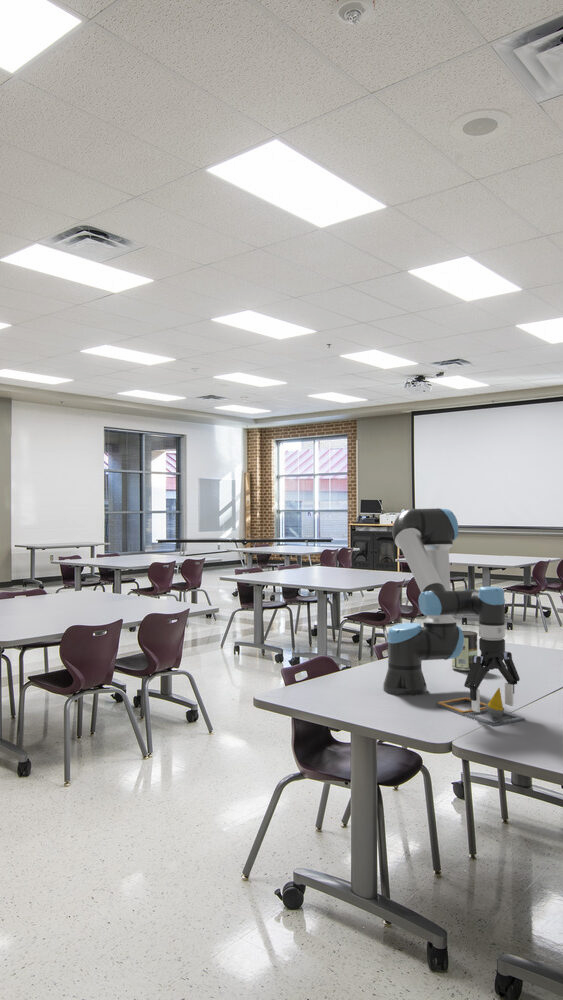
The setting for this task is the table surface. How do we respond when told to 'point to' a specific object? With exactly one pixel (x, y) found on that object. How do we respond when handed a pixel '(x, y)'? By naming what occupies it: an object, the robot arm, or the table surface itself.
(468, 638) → the coffee can
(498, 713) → the yellow cone
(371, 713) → the table surface
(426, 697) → the table surface
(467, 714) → the orange gray double frame
